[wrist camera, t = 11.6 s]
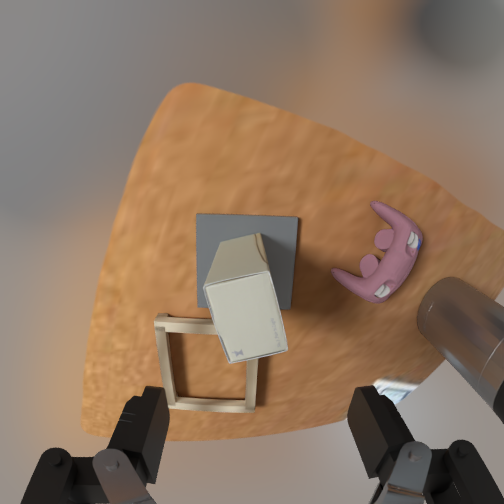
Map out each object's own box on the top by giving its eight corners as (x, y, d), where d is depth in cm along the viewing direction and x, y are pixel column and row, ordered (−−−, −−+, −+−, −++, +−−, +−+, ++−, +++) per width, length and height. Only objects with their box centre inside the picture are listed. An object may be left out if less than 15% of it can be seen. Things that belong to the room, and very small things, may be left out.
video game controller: (346, 282, 34) (387, 316, 28) (324, 273, 31) (367, 310, 25) (389, 210, 31) (436, 235, 26) (370, 193, 29) (422, 218, 23)
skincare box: (273, 287, 31) (292, 353, 19) (232, 296, 31) (228, 367, 19) (259, 229, 29) (273, 269, 18) (216, 240, 29) (200, 286, 18)
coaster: (296, 216, 30) (297, 217, 29) (289, 306, 32) (290, 309, 32) (197, 213, 29) (196, 214, 29) (198, 304, 32) (197, 307, 31)
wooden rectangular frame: (259, 317, 32) (260, 325, 31) (253, 402, 36) (254, 412, 34) (158, 313, 32) (153, 321, 30) (169, 398, 35) (167, 407, 34)
